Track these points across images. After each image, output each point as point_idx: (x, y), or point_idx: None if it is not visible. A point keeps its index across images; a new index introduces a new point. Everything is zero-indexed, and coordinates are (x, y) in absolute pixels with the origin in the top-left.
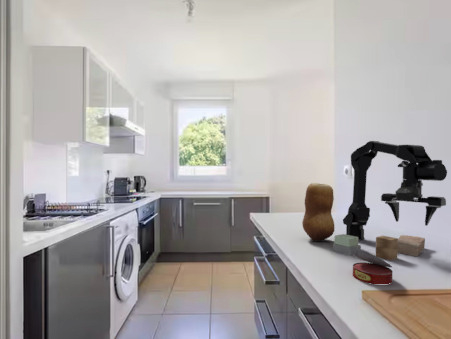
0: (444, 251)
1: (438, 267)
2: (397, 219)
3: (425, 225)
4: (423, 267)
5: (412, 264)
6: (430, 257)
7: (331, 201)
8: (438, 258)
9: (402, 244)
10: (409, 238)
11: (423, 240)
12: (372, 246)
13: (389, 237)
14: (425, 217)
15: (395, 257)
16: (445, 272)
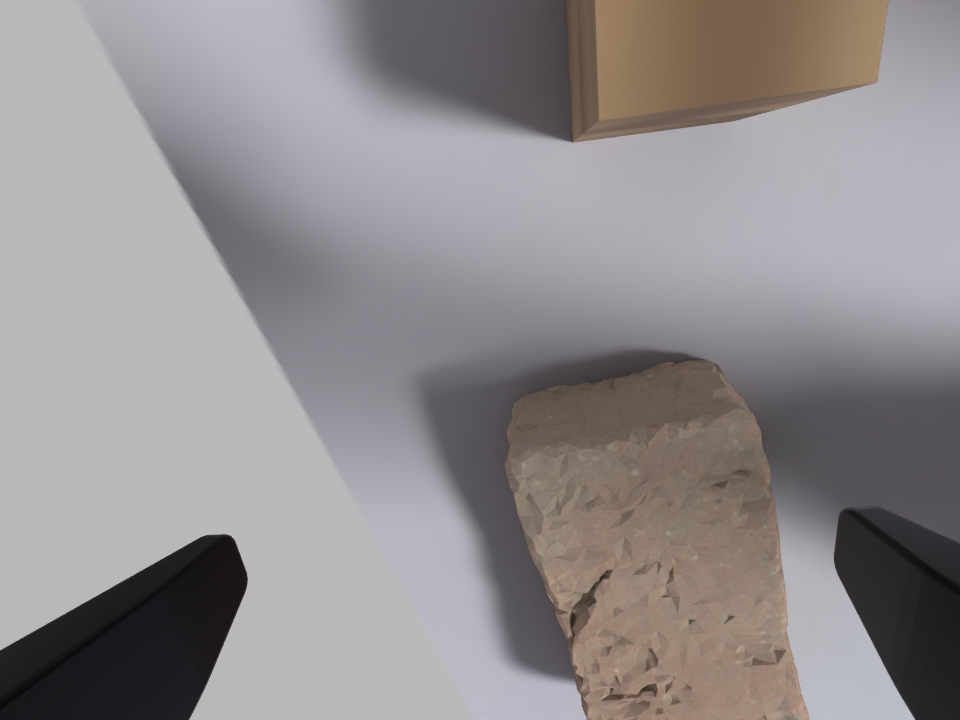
0: (478, 703)
1: (244, 202)
2: (874, 558)
3: (229, 535)
4: (284, 58)
5: (381, 56)
6: (438, 459)
7: None
8: (395, 483)
9: (647, 419)
10: (696, 680)
11: (584, 709)
12: (955, 374)
13: (715, 32)
14: (42, 678)
15: (571, 94)
16: (136, 95)
